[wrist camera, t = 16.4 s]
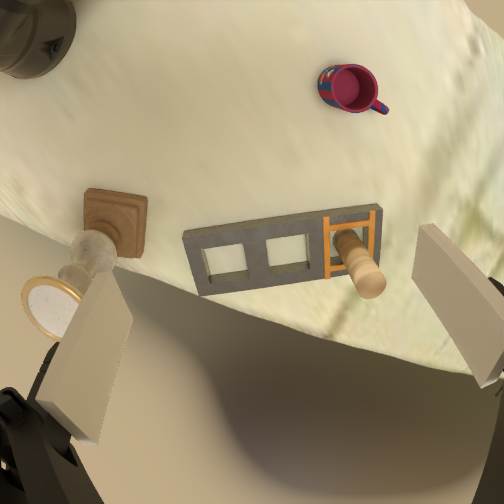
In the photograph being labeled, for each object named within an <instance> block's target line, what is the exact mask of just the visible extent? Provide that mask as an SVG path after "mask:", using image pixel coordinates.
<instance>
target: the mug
mask: <svg viewBox="0 0 504 504" xmlns="http://www.w3.org/2000/svg"><path fill="white" fill-rule="evenodd" d="M318 91H319V94H320V96H321V97H322V99H323V100H324V101H325V102H326V103H328V104H329V105H331V106H333V107H336V108H339V109H342V110H345V111H348V112H351V113H360V112H364V111H366V110H368V109H369V108H371V109H373V110H375V111H377V112H379V113H381V114H384V115H387V113H388V112H389V108H388V107H387V106H386V105H384V104H383V103H381V102H380V101H378V100H377V95H378V85H377V81H376V79H375V77H374V76H373V74H372V73H371V72H370V71H369V70H368V69H366V68H365V67H363V66H360V65H356V64H346V65H335V66H331V67H328V68H327V69H325V70H324V71H323V72H322V73H321V75H320V77H319V80H318Z"/></svg>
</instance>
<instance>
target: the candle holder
mask: <svg viewBox="0 0 504 504" xmlns="http://www.w3.org/2000/svg"><path fill="white" fill-rule="evenodd" d="M147 201H148V200H147V198H146V197H144V196H139V195H134V194H128V193H121V192H115V191H108V190H102V189H93V188H90V189H88V190H87V191H86V192H85V193H84V231H83V232H81V233H79V234H78V235H77V236H76V237H75V239H74V240H73V242H72V245H71V261H72V264H69V265H65V266H63V267H62V268H61V269H60V271H59V273H58V277H55V276H50V275H38V276H34V277H32V278H31V279H29V280H28V281H27V282H26V284H25V285H24V286H23V289H22V293H21V301H22V305H23V308H24V311H25V313H26V315H27V317H28V318H29V320H30V321H31V322H32V324H33V325H34V326H35V327H36V328H37V329H38V330H39V331H41V332H42V333H43V334H44V335H46V336H47V337H49V338H51V339H52V340H54V341H57V342H60V341H61V339H62V337H63V335H64V333H65V331H66V329H67V327H68V325H69V323H70V321H71V319H72V317H73V315H74V314H75V312H76V310H77V308H78V306H79V304H80V302H81V300H82V298H83V297H84V295H85V293H86V291H87V289H88V287H89V286H90V284H91V282H92V279H94V277H95V275H96V273H100V272H107V271H111V270H112V269H113V268H114V266H115V264H116V261H117V256H119V257H125V258H141V256H142V254H143V251H144V242H145V228H146V216H147Z"/></svg>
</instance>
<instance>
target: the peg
mask: <svg viewBox="0 0 504 504" xmlns="http://www.w3.org/2000/svg"><path fill="white" fill-rule="evenodd" d="M333 244H334V246H335V248H336V250H337V251H338V253H339V255H340V257H341V259H342V261H343V263H344V265H345V267H346V269H347V271H348V273H349V275H350V277H351V279H352V281H353V283H354V285H355V287H356V289H357V291H358V293H359V295H360V296H361V297H362V298H364V299H372V298H375V297H377V296H379V295H380V294H381V293H382V292H383V291H384V289H385V287H386V279H385V277H384V276H383V274H382V272H381V271H380V269H379V268H378V266H377V265H376V263H375V261H374V260H373V258H372V257H371V255H370V254H369V252H368V251H367V249H366V248H365V246H364V245H363V243H362V242H361V240H360V239H359V237H358V236H357V234H356V233H355V231H354V230H353V229H351V228H349V229H342V230H338V231H337V232H336V233H335V235H334V237H333Z"/></svg>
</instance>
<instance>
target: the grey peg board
mask: <svg viewBox="0 0 504 504" xmlns="http://www.w3.org/2000/svg"><path fill="white" fill-rule="evenodd" d="M382 217H383V209H382V208H381V207H380V206H379V205H378V204H370V205H361V206H353V207H345V208H338V209H330V210H322V211H315V212H308V213H300V214H293V215H286V216H279V217H272V218H265V219H258V220H252V221H245V222H238V223H232V224H225V225H219V226H213V227H206V228H200V229H194V230H188V231H184V234H183V237H182V240H183V243H184V247H185V250H186V254H187V257H188V261H189V264H190V267H191V271H192V274H193V278H194V281H195V284H196V288H197V291H198V294H199V297H200V296H207V295H215V294H223V293H230V292H237V291H244V290H252V289H259V288H265V287H272V286H279V285H286V284H292V283H299V282H305V281H312V280H318V279H330V277H336V276H342V275H348V274H349V273H348V271H347V269H346V267H345V265H344V263H343V261H342V259H341V257H340V256H338V257H332V258H330V231H335V230H342V229H349V228H356V227H363V226H364V229H363V245H364V246H365V248H366V249H367V251H368V252H369V254H370V255H371V257H372V258H373V260H374V261H375V263H376V265H377V266H378V268H379V261H380V249H381V235H382ZM301 234H306V245H307V261H306V262H299V263H292V264H286V265H279V266H272V267H269V264H268V257H267V249H266V242H265V240H266V239H273V238H280V237H287V236H294V235H301ZM239 243H244V249H245V255H246V260H247V266H248V270H245V271H238V272H231V273H224V274H217V275H210V271H209V267H208V263H207V259H206V256H205V252H204V249H206V248H213V247H219V246H226V245H233V244H239Z"/></svg>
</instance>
